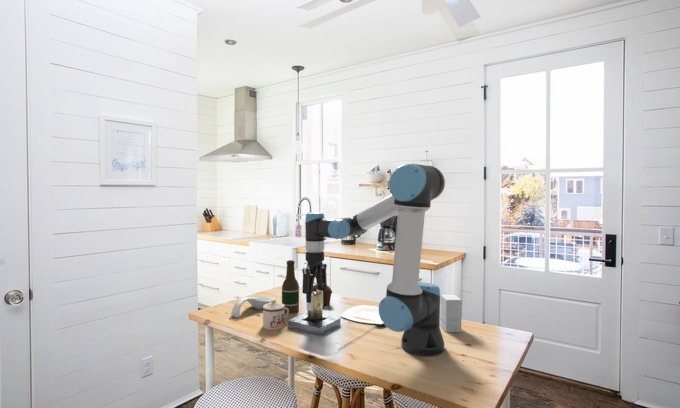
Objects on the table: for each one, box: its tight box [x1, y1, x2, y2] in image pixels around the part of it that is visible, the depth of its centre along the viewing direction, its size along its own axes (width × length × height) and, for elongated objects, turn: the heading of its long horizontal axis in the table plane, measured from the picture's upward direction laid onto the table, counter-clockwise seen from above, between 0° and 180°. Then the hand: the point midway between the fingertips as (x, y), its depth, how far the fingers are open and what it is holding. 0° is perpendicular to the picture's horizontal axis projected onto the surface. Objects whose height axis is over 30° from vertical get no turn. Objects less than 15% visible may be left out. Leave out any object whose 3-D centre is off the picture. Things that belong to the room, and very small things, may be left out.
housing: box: [287, 311, 341, 337], centre depth 154 cm, size 16×14×4 cm
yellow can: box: [307, 292, 323, 319], centre depth 153 cm, size 6×6×10 cm
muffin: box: [312, 283, 333, 308], centre depth 186 cm, size 12×11×10 cm
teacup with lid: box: [261, 298, 290, 331], centre depth 155 cm, size 12×9×12 cm
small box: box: [440, 294, 463, 333], centre depth 155 cm, size 8×6×13 cm
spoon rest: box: [230, 296, 274, 319], centre depth 178 cm, size 24×12×7 cm, turn 152°
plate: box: [340, 304, 385, 326], centre depth 168 cm, size 23×23×2 cm
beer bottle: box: [281, 259, 300, 315], centre depth 173 cm, size 8×8×24 cm
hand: (315, 308), depth 153 cm, fingers closed on yellow can, 6 cm apart
